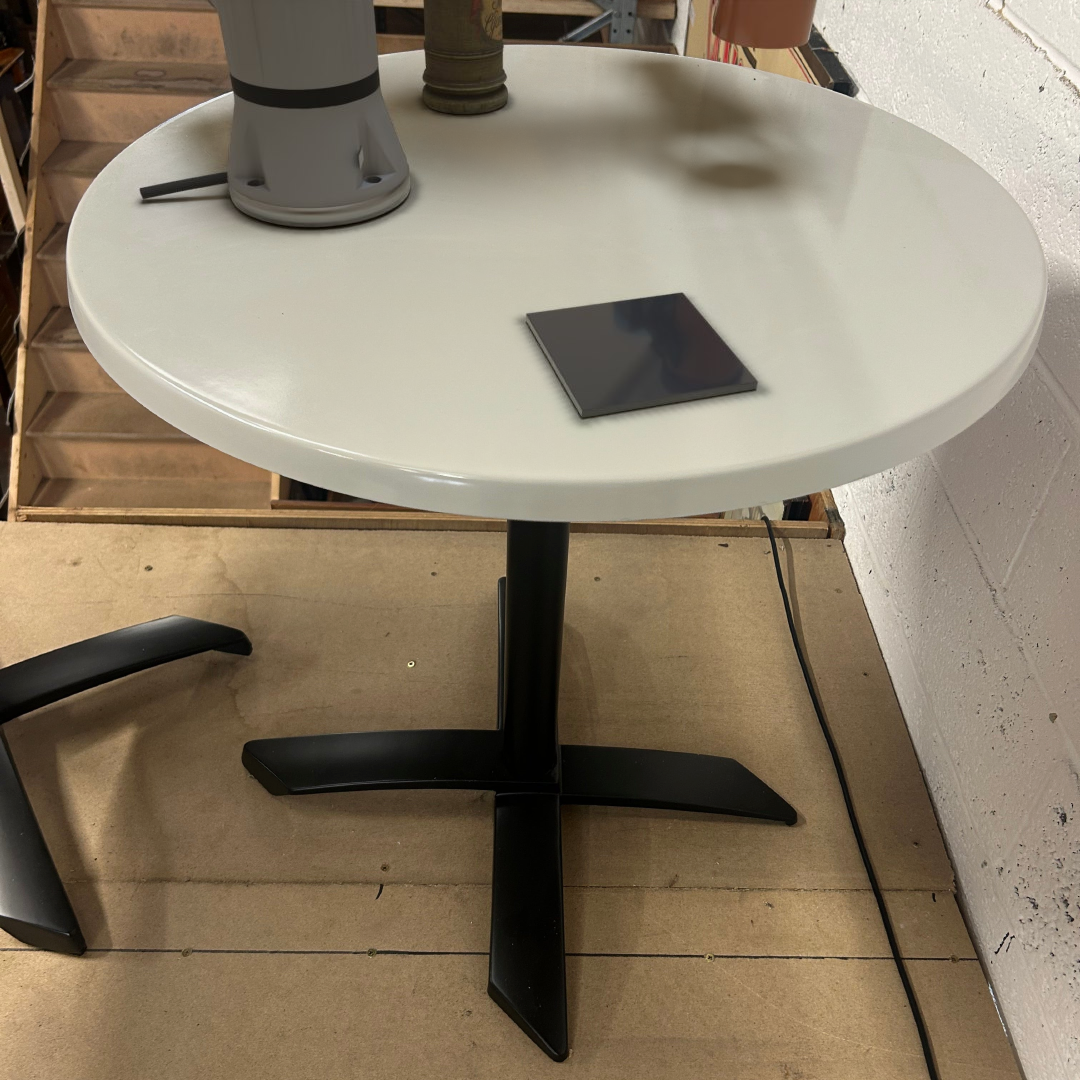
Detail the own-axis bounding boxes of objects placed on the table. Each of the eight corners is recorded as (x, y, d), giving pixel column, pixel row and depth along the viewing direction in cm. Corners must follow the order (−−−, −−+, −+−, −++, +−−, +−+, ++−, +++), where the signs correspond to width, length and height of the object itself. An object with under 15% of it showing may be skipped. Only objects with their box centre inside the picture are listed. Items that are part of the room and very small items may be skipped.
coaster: (581, 418, 56) (582, 410, 56) (525, 320, 64) (525, 313, 64) (756, 389, 59) (758, 381, 59) (681, 299, 67) (682, 291, 67)
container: (420, 114, 93) (407, -98, 81) (425, 85, 100) (414, -116, 87) (508, 116, 93) (509, -96, 81) (507, 87, 100) (508, -113, 88)
